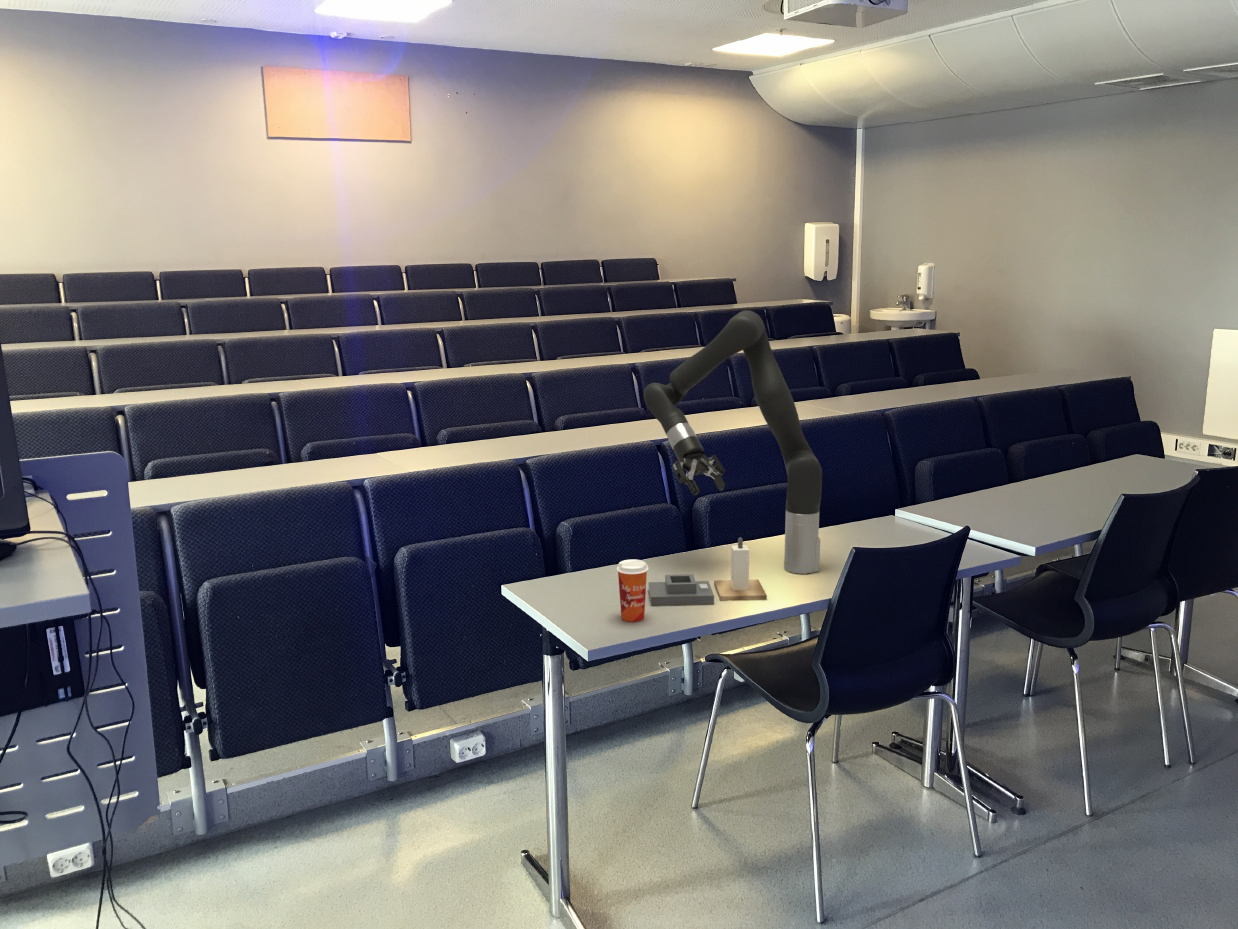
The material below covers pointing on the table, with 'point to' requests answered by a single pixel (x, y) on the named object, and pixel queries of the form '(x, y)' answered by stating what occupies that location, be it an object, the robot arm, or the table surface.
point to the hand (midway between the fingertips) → (710, 491)
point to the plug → (740, 566)
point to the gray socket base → (680, 591)
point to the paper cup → (632, 589)
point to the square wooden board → (739, 591)
